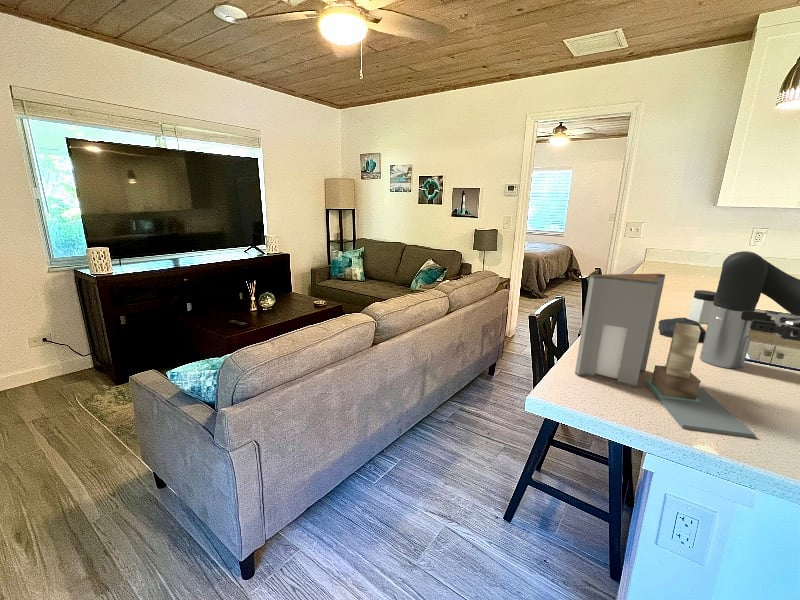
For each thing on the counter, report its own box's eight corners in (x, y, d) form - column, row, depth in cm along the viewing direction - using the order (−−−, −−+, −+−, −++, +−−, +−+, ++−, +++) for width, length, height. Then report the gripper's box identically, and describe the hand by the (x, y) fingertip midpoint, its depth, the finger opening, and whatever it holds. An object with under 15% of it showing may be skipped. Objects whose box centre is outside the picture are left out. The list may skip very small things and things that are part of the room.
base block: (681, 386, 96) (686, 368, 94) (695, 400, 89) (700, 381, 88) (651, 382, 97) (655, 365, 96) (662, 396, 91) (667, 377, 89)
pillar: (687, 371, 92) (698, 326, 89) (688, 378, 89) (700, 331, 86) (665, 367, 95) (675, 322, 92) (666, 373, 91) (676, 327, 88)
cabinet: (640, 369, 107) (660, 273, 100) (669, 385, 98) (693, 281, 90) (574, 373, 103) (590, 274, 96) (598, 391, 94) (617, 283, 87)
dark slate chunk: (704, 328, 144) (707, 317, 143) (713, 346, 126) (717, 333, 125) (656, 321, 152) (659, 310, 150) (659, 337, 134) (662, 325, 132)
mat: (701, 390, 95) (702, 387, 95) (754, 437, 76) (755, 434, 76) (645, 383, 98) (645, 381, 98) (682, 428, 79) (683, 424, 79)
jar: (720, 324, 148) (727, 294, 145) (703, 325, 146) (710, 295, 143) (698, 317, 157) (704, 289, 153) (682, 318, 155) (688, 290, 152)
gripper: (862, 364, 70) (748, 344, 78) (830, 341, 82) (734, 326, 90) (877, 327, 68) (759, 310, 76) (842, 308, 80) (743, 296, 88)
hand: (745, 319), depth 83 cm, fingers open, 8 cm apart
